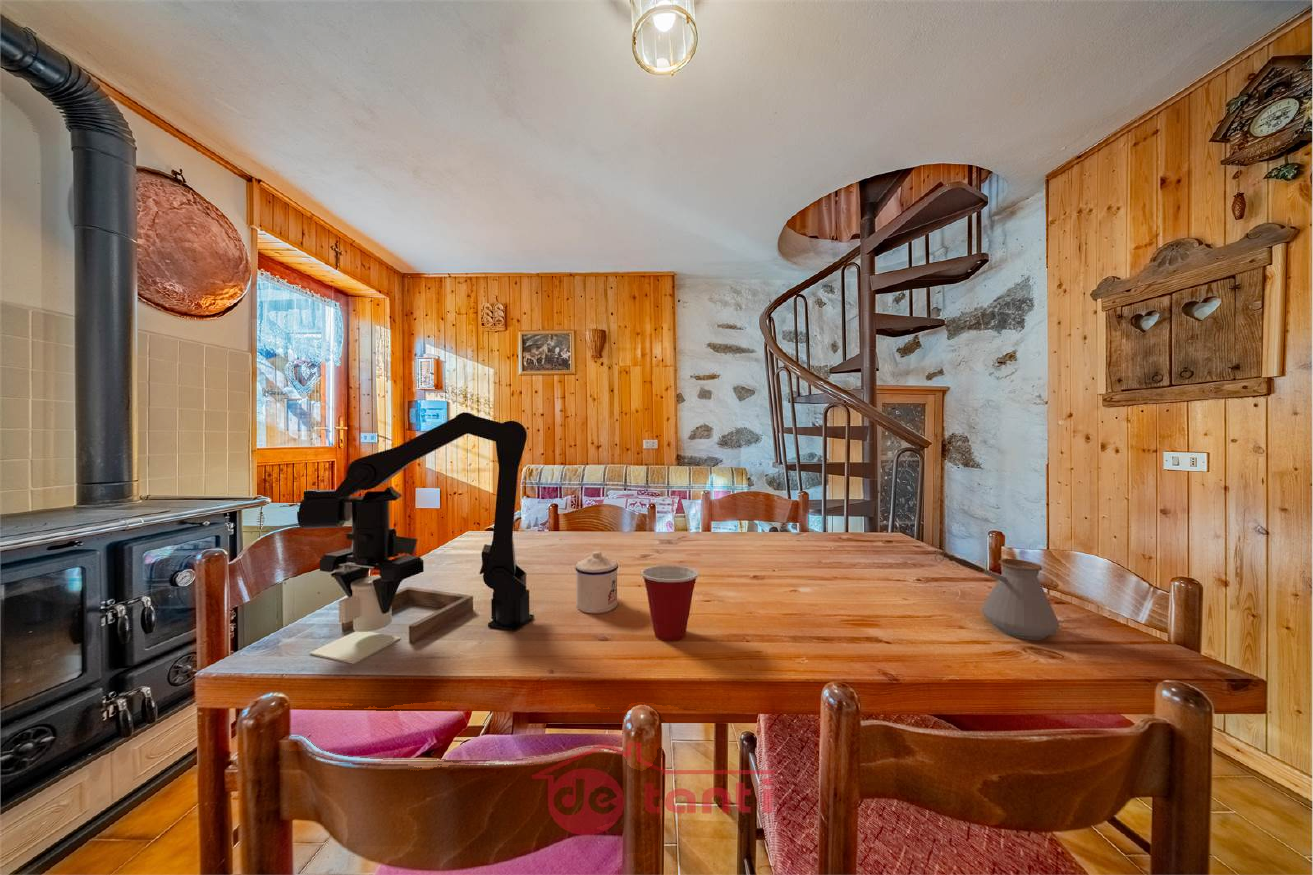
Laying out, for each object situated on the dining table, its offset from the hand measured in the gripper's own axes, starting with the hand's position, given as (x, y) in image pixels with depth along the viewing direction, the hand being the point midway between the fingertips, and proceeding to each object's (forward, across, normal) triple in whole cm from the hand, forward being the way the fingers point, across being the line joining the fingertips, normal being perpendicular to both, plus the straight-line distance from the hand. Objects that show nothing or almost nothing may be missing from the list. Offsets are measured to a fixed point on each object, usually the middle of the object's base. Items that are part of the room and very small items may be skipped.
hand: (372, 610), depth 82 cm
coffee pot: (+5, -109, -39) cm, 116 cm away
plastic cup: (+5, -51, -19) cm, 54 cm away
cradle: (+5, 0, -8) cm, 10 cm away
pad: (+5, 0, +3) cm, 6 cm away
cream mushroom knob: (+3, 0, +1) cm, 3 cm away
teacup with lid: (+5, -32, -28) cm, 42 cm away
